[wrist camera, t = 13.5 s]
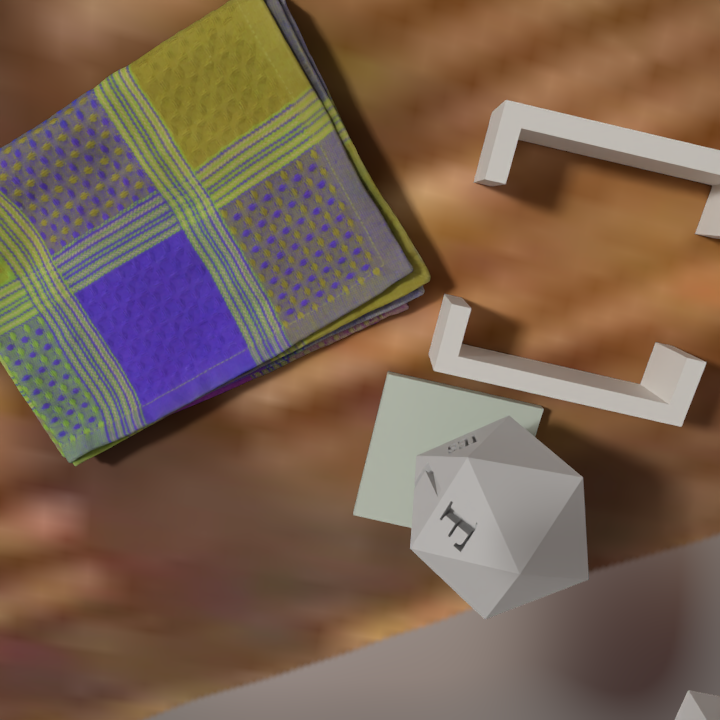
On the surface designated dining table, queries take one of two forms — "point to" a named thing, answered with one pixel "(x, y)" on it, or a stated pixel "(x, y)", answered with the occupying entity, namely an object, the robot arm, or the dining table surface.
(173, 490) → the dining table surface
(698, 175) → the pocket
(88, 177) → the dish towel
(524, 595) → the die
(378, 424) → the mat
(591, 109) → the dining table surface
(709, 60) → the dining table surface
